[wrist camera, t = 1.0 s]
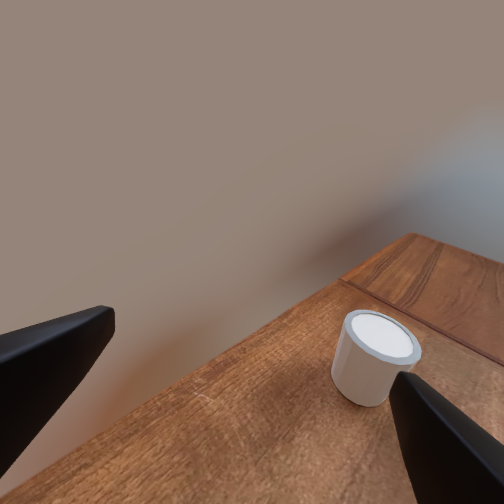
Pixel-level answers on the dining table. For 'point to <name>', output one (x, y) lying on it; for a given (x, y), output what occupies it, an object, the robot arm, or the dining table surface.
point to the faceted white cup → (372, 356)
